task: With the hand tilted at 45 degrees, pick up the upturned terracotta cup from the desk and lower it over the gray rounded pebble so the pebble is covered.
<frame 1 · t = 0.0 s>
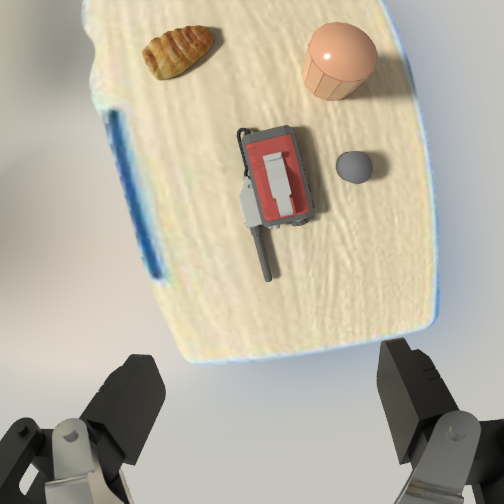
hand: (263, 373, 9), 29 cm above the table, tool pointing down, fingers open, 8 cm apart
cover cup: (329, 76, 31), on the table
pastry: (177, 54, 32), on the table
walkie-talkie: (276, 200, 37), on the table
gray rounded pebble: (350, 166, 34), on the table
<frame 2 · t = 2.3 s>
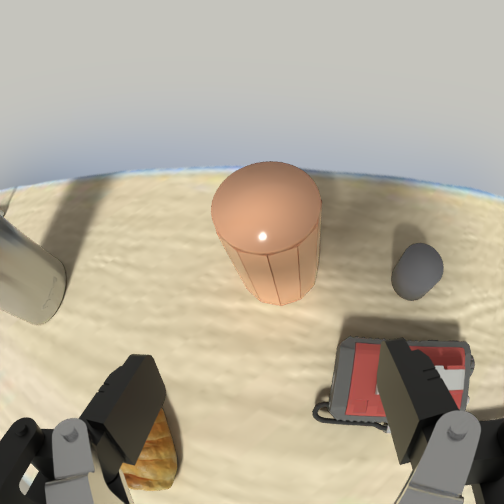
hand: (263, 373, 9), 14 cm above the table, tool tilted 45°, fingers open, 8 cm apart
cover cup: (279, 268, 26), on the table
pastry: (145, 445, 21), on the table
walkie-talkie: (428, 394, 19), on the table
gray rounded pebble: (410, 280, 23), on the table
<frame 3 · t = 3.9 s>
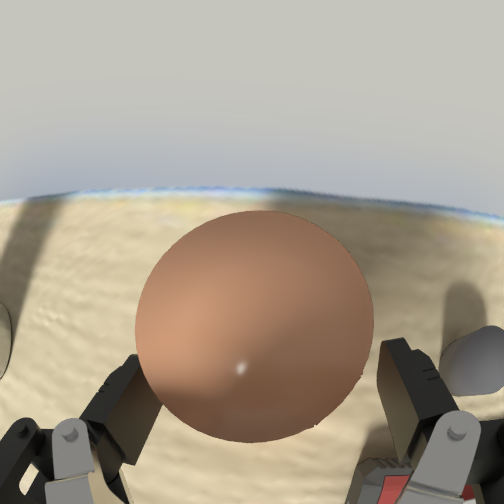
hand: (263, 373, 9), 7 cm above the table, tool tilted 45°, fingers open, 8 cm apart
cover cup: (278, 358, 16), on the table
walkie-talkie: (459, 502, 9), on the table
gray rounded pebble: (462, 367, 14), on the table
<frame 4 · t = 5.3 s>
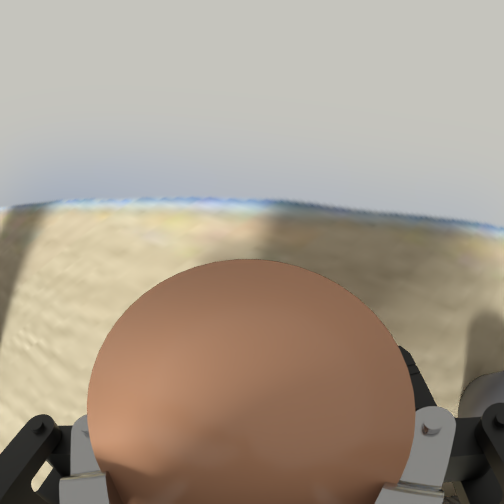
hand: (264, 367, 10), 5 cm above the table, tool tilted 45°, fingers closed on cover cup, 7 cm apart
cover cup: (278, 403, 13), on the table, touching gripper
gray rounded pebble: (483, 406, 11), on the table
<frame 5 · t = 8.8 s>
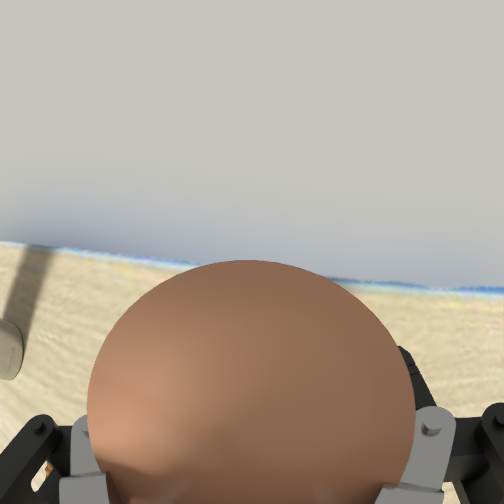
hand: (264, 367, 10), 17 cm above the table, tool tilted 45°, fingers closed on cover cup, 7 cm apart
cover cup: (278, 404, 13), point 12 cm above the table, touching gripper
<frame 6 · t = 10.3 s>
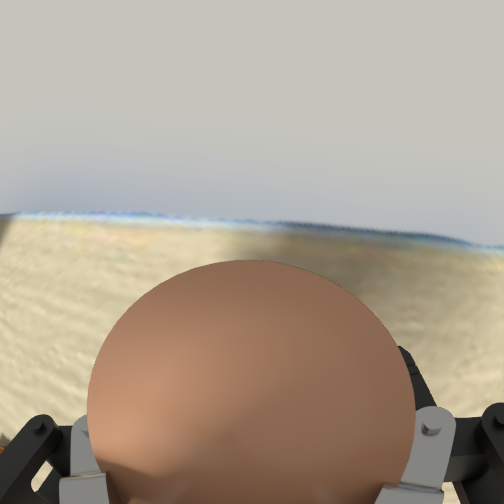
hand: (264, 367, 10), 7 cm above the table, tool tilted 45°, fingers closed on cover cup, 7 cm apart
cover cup: (278, 404, 13), point 3 cm above the table, touching gripper
when the fingers open (6 cm above the table, at t = 11.2 s): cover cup drops 1 cm, on the table.
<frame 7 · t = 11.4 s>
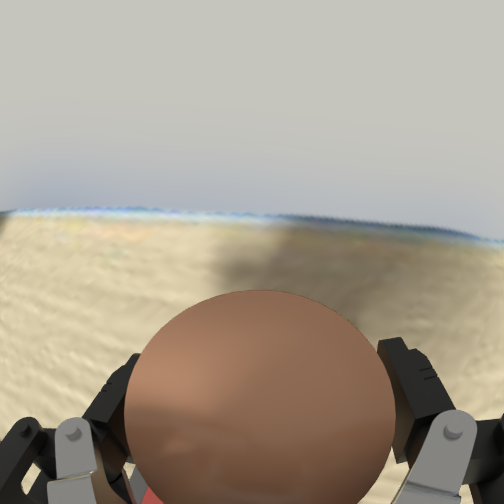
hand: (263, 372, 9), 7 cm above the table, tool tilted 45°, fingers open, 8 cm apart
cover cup: (282, 404, 14), on the table
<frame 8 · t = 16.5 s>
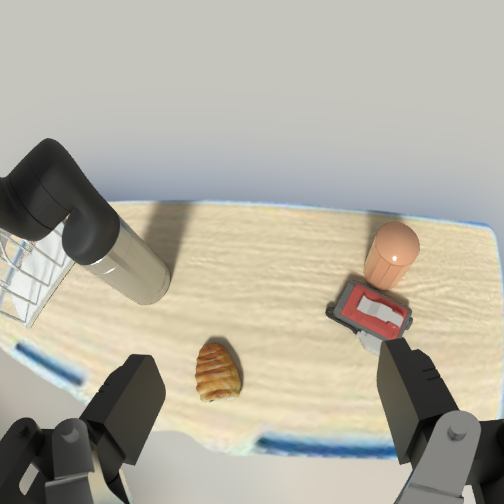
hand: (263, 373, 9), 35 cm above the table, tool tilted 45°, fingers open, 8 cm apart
file sorter: (44, 272, 59), on the table
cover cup: (382, 271, 45), on the table
pastry: (218, 377, 43), on the table
walkie-talkie: (384, 330, 41), on the table
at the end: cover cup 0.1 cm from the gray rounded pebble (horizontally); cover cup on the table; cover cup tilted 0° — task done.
